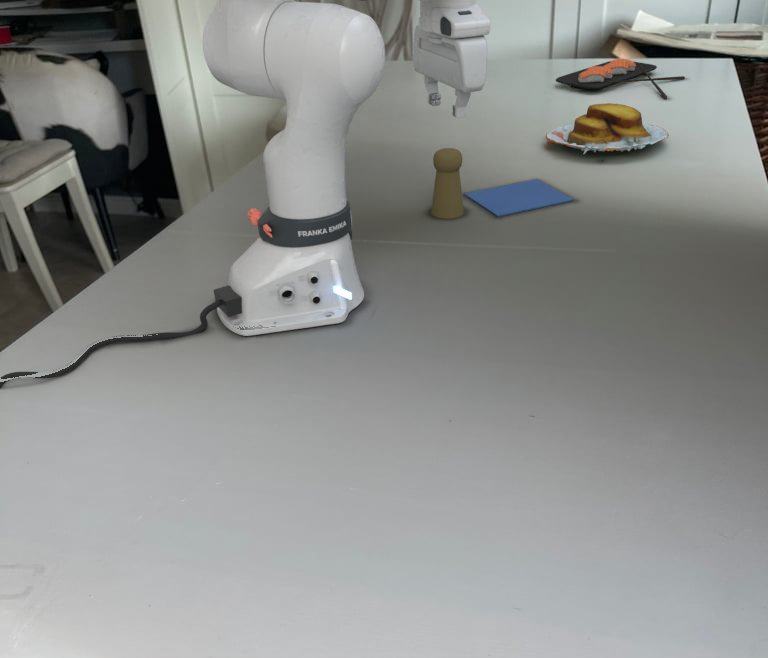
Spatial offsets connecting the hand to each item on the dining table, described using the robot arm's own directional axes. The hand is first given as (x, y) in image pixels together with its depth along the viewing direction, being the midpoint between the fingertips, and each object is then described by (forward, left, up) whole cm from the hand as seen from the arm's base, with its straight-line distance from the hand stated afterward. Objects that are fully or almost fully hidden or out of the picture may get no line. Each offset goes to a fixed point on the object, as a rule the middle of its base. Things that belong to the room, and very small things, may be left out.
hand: (446, 111), depth 137 cm
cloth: (+15, 0, -17) cm, 23 cm away
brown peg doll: (0, 0, -18) cm, 18 cm away
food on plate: (+47, +18, -18) cm, 54 cm away
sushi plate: (+82, +57, -18) cm, 102 cm away
